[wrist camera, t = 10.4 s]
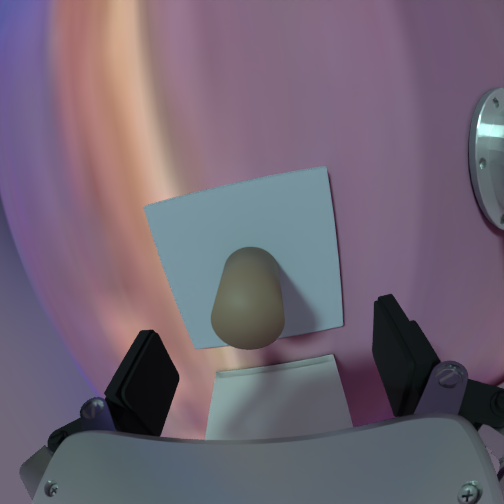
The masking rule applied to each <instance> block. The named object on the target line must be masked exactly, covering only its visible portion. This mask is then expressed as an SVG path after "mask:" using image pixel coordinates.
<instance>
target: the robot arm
mask: <svg viewBox="0 0 504 504" xmlns="http://www.w3.org/2000/svg"><path fill="white" fill-rule="evenodd" d="M469 165H470V172H471V179H472V184H473V188H474V192H475V196H476V198H477V201H478V203H479V206H480V208H481V210H482V211H483V213H484V215H485V217H486V218H487V219H488V220H489V221H490V222H491V223H492V224H493V225H495V226H496V227H498V228H500V229H502V230H504V88H497V89H492V90H490V91H488V92H487V93H485V95H484V96H483V97H482V98H481V99H480V101H479V103H478V105H477V107H476V109H475V112H474V115H473V118H472V122H471V129H470V135H469ZM372 352H373V357H374V360H375V362H376V365H377V368H378V370H379V373H380V376H381V379H382V382H383V384H384V387H385V390H386V393H387V396H388V399H389V402H390V405H391V408H392V411H393V414H394V416H395V417H398V416H399V417H398V418H393V419H389V420H384V421H379V422H375V423H371V424H366V425H362V426H357V427H352V428H346V429H341V430H335V431H329V432H323V433H317V434H309V435H302V436H293V437H282V438H270V439H252V440H198V439H180V438H167V437H160V435H161V433H162V430H163V427H164V424H165V421H166V418H167V415H168V412H169V409H170V406H171V403H172V400H173V397H174V394H175V391H176V388H177V385H178V383H179V374H178V371H177V370H176V368H175V366H174V364H173V362H172V360H171V358H170V356H169V354H168V352H167V350H166V349H165V347H164V345H163V343H162V340H161V338H160V336H159V335H158V333H155V331H154V330H142V331H140V332H139V334H138V335H137V337H136V339H135V340H134V342H133V344H132V345H131V347H130V349H129V351H128V352H127V354H126V356H125V357H124V359H123V361H122V363H121V364H120V366H119V368H118V369H117V371H116V373H115V375H114V376H113V378H112V380H111V382H110V384H109V385H108V387H107V389H106V391H105V393H104V394H105V395H106V398H105V399H103V398H101V397H94V398H91V399H89V400H87V401H86V402H85V403H84V404H83V406H82V407H81V410H80V418H79V419H77V420H75V421H73V422H71V423H69V424H67V425H65V426H63V427H61V428H59V429H57V430H55V431H54V432H53V433H52V434H51V435H50V437H49V439H48V447H46V446H45V445H44V446H43V447H42V448H41V449H40V450H38V451H37V452H36V453H35V454H34V455H32V456H31V457H30V458H29V459H28V460H26V461H25V462H24V463H23V464H22V465H21V467H20V472H19V473H20V477H21V479H22V481H23V483H24V485H25V487H26V489H27V491H28V493H29V495H30V497H31V499H32V500H33V501H32V504H504V389H503V388H499V387H495V386H492V385H488V384H485V383H481V382H478V381H474V380H471V379H468V373H467V370H466V368H465V367H464V366H463V365H462V364H460V363H458V362H455V361H444V362H441V361H440V360H439V358H438V356H437V354H436V353H435V351H434V349H433V348H432V346H431V344H430V343H429V341H428V340H427V338H426V336H425V335H424V333H423V332H422V330H421V328H420V327H419V325H418V324H417V322H416V321H414V320H413V321H409V319H408V318H407V316H406V315H405V313H404V312H403V310H402V308H401V307H400V305H399V304H398V302H397V301H396V299H395V298H394V296H393V295H392V294H389V295H384V296H380V297H378V301H375V302H374V324H373V345H372ZM486 447H488V448H489V449H490V450H492V452H491V454H493V455H494V456H496V458H497V459H498V460H499V463H500V468H499V472H498V474H496V471H495V469H494V466H493V463H492V461H491V458H490V456H489V453H488V451H487V449H486ZM461 487H462V488H461Z"/></svg>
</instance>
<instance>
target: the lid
mask: <svg viewBox="0 0 504 504" xmlns="http://www.w3.org/2000/svg"><path fill="white" fill-rule="evenodd" d="M144 210H145V213H146V217H147V220H148V223H149V226H150V230H151V233H152V236H153V239H154V242H155V245H156V248H157V251H158V254H159V257H160V260H161V263H162V266H163V269H164V271H165V274H166V277H167V280H168V282H169V285H170V288H171V290H172V293H173V296H174V298H175V301H176V304H177V306H178V309H179V311H180V314H181V316H182V319H183V321H184V324H185V326H186V329H187V331H188V333H189V336H190V338H191V340H192V343H193V345H194V347H195V349H201V348H211V347H220V346H228V345H230V346H232V347H235V348H239V349H246V350H252V349H259V348H263V347H265V346H268V345H269V344H271V343H273V342H274V341H275V340H276V339H277V338H283V337H289V336H295V335H300V334H305V333H311V332H316V331H321V330H326V329H331V328H335V327H340V326H343V313H342V296H341V282H340V270H339V259H338V249H337V239H336V230H335V222H334V214H333V207H332V200H331V193H330V186H329V180H328V174H327V168H326V167H325V166H322V167H315V168H309V169H303V170H298V171H292V172H286V173H281V174H276V175H270V176H265V177H260V178H255V179H251V180H246V181H241V182H236V183H232V184H227V185H223V186H219V187H214V188H210V189H206V190H202V191H198V192H194V193H190V194H186V195H182V196H178V197H174V198H170V199H167V200H163V201H159V202H156V203H152V204H148V205H146V206H145V207H144Z"/></svg>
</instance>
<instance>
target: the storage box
mask: <svg viewBox="0 0 504 504" xmlns="http://www.w3.org/2000/svg"><path fill="white" fill-rule="evenodd" d="M352 427H353V424H352V420H351V416H350V412H349V408H348V405H347V401H346V397H345V394H344V390H343V387H342V383H341V380H340V376H339V373H338V369H337V366H336V362H335V359H334V356H333V354H331V355H326V356H321V357H317V358H311V359H306V360H301V361H295V362H290V363H284V364H277V365H271V366H264V367H257V368H249V369H241V370H232V371H222V372H216V377H215V383H214V388H213V394H212V400H211V406H210V412H209V418H208V424H207V430H206V436H205V440H252V439H270V438H282V437H293V436H302V435H309V434H317V433H323V432H329V431H335V430H341V429H346V428H352Z"/></svg>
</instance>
